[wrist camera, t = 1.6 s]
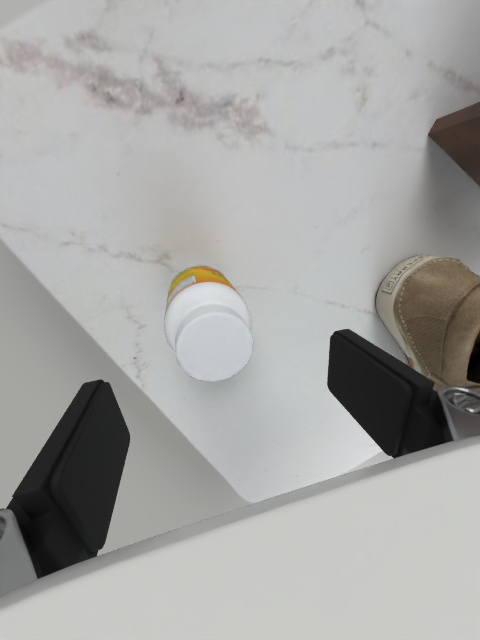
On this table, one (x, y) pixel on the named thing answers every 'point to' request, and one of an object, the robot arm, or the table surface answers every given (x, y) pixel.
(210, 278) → the supplement bottle
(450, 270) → the slip on shoe
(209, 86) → the table surface
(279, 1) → the table surface
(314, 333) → the table surface
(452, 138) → the shelf
